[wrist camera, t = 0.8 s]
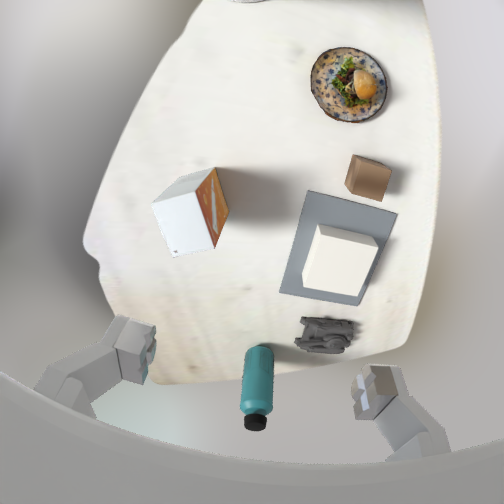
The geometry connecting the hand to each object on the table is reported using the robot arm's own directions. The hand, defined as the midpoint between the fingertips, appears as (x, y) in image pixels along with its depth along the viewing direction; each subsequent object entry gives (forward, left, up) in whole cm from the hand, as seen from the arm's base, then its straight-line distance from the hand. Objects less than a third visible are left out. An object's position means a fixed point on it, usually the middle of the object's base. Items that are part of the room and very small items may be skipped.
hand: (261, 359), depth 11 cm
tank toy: (+33, +18, -39) cm, 54 cm away
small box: (+8, -10, -39) cm, 41 cm away
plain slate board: (+14, +14, -38) cm, 44 cm away
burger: (-14, +9, -39) cm, 42 cm away
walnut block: (-1, +14, -39) cm, 41 cm away
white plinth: (+14, +14, -38) cm, 44 cm away
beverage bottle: (+41, +6, -39) cm, 57 cm away
